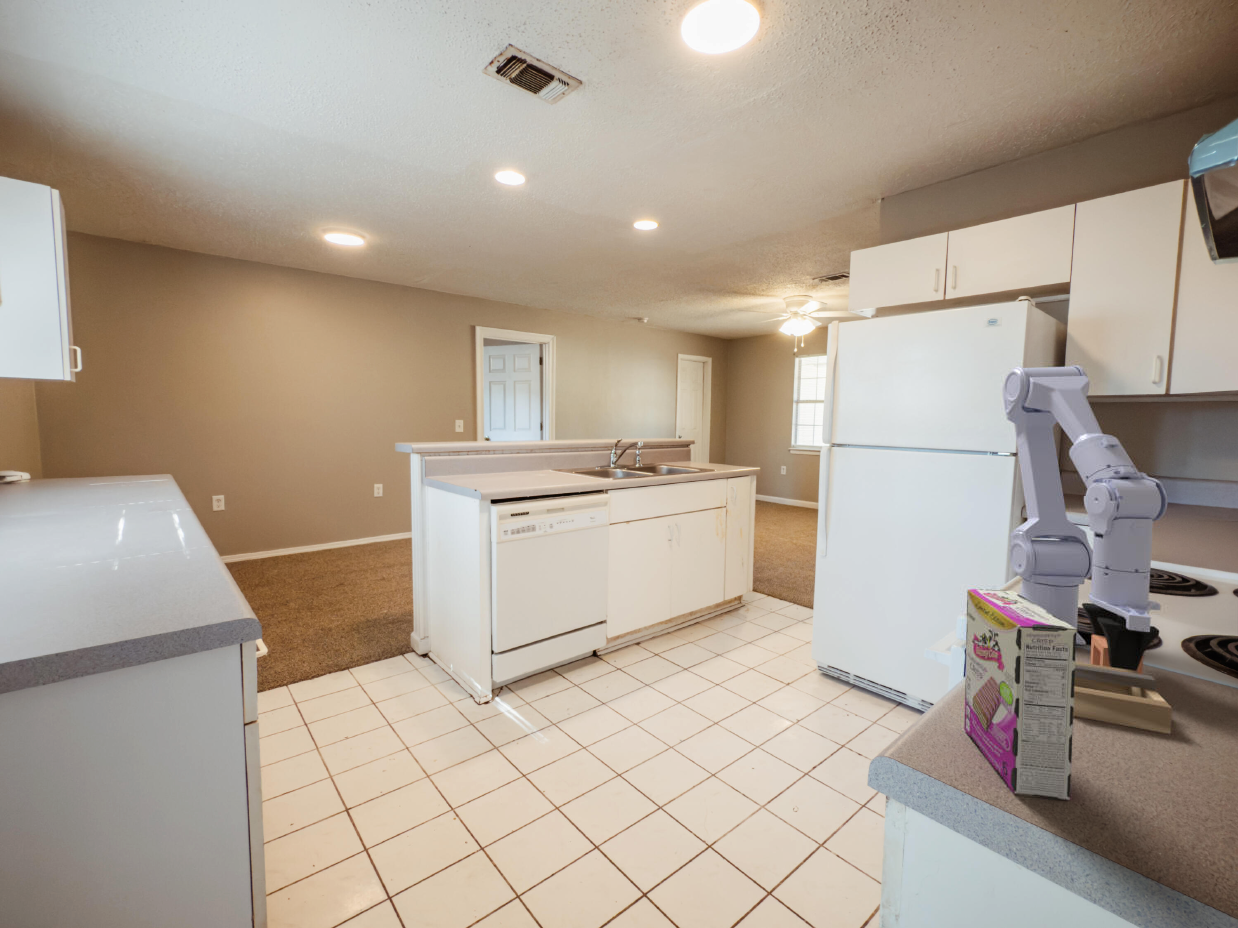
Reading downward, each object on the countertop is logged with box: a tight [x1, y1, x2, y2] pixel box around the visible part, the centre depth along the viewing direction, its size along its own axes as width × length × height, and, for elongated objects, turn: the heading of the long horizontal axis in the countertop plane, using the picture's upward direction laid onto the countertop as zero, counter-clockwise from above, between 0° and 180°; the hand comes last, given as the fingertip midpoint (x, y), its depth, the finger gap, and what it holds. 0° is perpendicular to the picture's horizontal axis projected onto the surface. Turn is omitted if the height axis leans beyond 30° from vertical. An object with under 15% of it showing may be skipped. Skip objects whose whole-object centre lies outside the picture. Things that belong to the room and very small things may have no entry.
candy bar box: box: [963, 588, 1078, 801], centre depth 54 cm, size 11×5×16 cm, turn 168°
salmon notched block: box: [1089, 634, 1145, 675], centre depth 73 cm, size 5×4×4 cm
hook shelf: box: [1073, 661, 1173, 735], centre depth 66 cm, size 10×9×4 cm
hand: (1115, 665), depth 73 cm, fingers closed on salmon notched block, 5 cm apart
